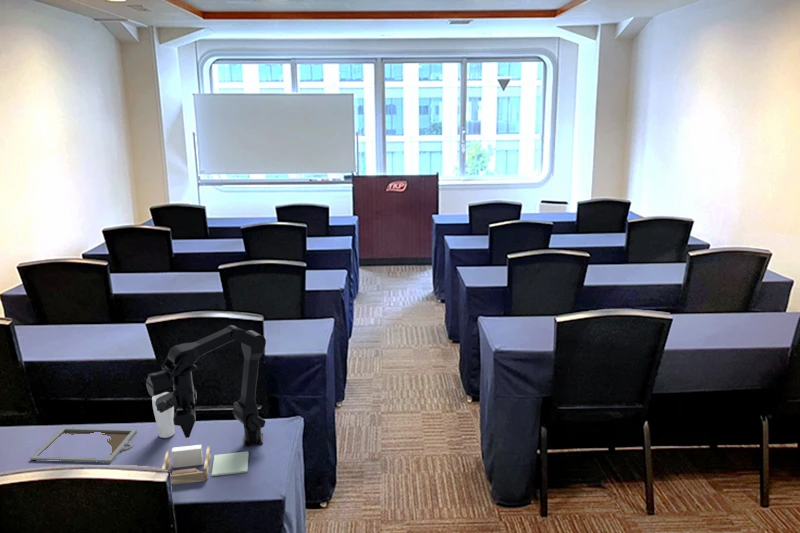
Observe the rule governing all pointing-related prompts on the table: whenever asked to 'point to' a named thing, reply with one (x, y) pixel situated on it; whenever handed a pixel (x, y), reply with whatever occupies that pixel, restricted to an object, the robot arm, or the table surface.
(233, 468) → the mat
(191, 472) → the offcut stack
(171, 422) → the drinking glass
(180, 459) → the white block
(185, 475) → the rack
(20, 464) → the table surface
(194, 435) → the table surface
